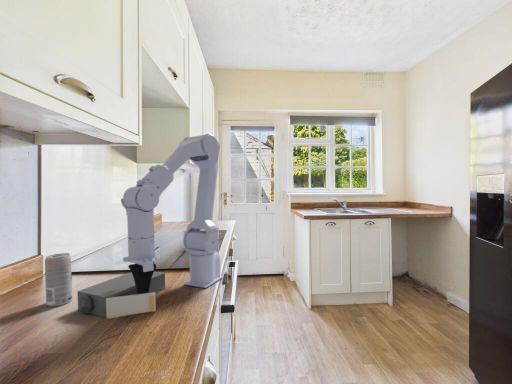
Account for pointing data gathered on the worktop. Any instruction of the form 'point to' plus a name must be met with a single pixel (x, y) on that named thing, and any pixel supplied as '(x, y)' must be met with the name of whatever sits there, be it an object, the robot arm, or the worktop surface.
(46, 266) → the energy drink
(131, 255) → the robot arm
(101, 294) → the camera housing
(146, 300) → the door
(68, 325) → the worktop surface
